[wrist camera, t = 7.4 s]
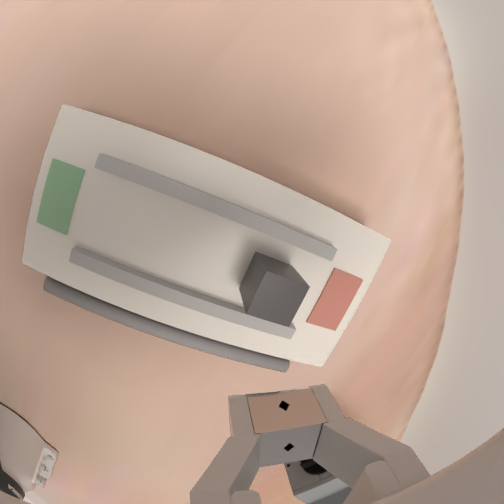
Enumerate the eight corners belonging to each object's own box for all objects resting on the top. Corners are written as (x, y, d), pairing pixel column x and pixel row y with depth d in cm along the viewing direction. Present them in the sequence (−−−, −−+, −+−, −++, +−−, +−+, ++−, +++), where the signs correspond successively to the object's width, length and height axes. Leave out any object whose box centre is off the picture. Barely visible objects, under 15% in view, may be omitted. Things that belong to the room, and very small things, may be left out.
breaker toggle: (275, 300, 22) (288, 327, 18) (238, 288, 22) (246, 314, 18) (292, 265, 22) (310, 286, 18) (255, 251, 21) (266, 270, 17)
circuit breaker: (320, 397, 33) (366, 489, 19) (348, 440, 38) (384, 510, 24) (268, 423, 33) (296, 519, 19) (306, 461, 38) (333, 533, 24)
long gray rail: (280, 366, 31) (284, 375, 29) (49, 286, 24) (43, 293, 23) (294, 342, 30) (299, 350, 29) (54, 256, 24) (47, 261, 22)
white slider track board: (305, 339, 30) (325, 373, 24) (47, 246, 23) (15, 266, 18) (363, 227, 28) (397, 243, 22) (87, 113, 21) (56, 101, 15)
